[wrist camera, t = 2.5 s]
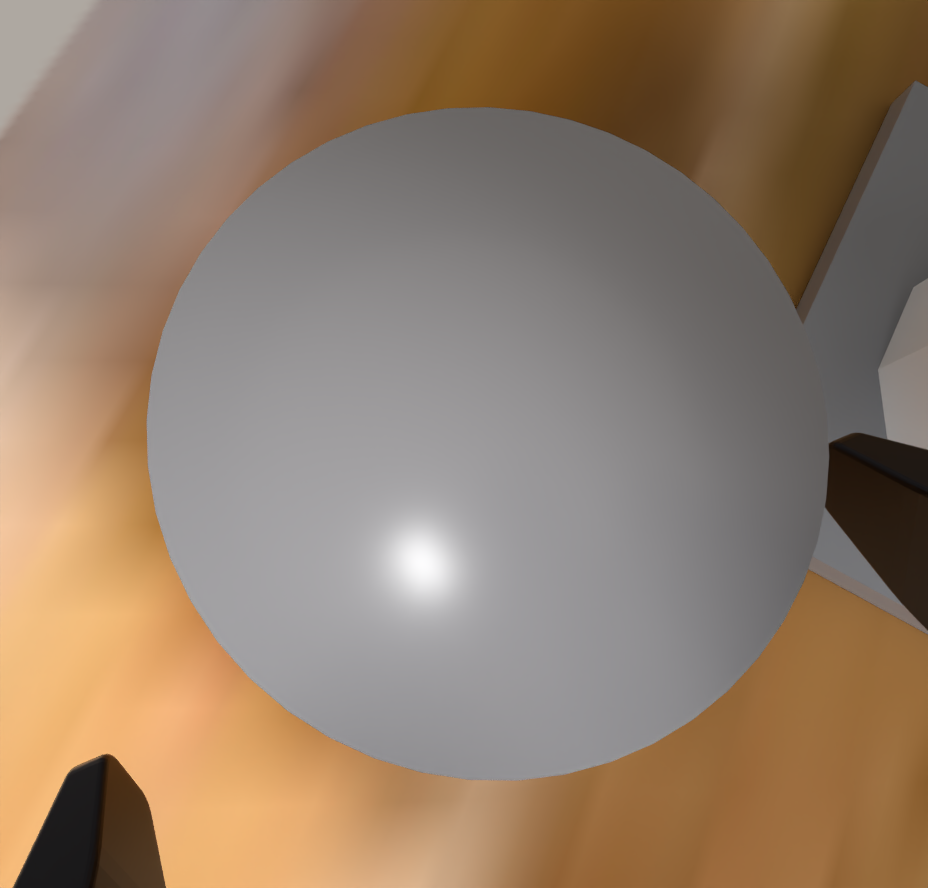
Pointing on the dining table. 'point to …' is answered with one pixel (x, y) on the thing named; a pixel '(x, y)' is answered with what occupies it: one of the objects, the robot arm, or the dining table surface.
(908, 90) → the housing
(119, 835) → the robot arm
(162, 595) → the dining table surface
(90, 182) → the dining table surface
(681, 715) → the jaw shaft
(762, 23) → the dining table surface
